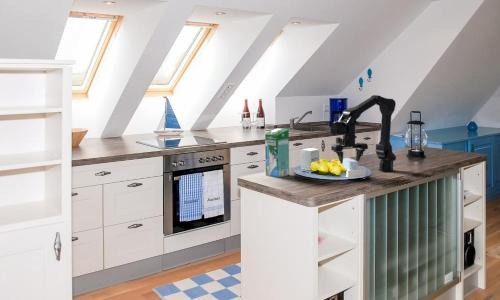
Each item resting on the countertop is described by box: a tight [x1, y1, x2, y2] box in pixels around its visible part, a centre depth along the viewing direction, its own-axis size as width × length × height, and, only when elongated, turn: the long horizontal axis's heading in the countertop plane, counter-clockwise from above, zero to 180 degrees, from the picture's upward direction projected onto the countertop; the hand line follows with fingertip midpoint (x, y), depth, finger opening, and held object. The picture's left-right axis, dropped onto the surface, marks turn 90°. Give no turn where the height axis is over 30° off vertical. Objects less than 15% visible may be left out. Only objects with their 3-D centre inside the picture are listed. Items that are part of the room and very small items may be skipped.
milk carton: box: [264, 127, 290, 178], centre depth 260 cm, size 9×9×25 cm
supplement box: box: [300, 147, 320, 170], centre depth 268 cm, size 7×7×13 cm
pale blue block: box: [342, 157, 359, 170], centre depth 254 cm, size 10×4×5 cm, turn 17°
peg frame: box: [344, 167, 366, 180], centre depth 255 cm, size 15×10×5 cm, turn 17°
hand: (349, 163), depth 254 cm, fingers open, 9 cm apart
